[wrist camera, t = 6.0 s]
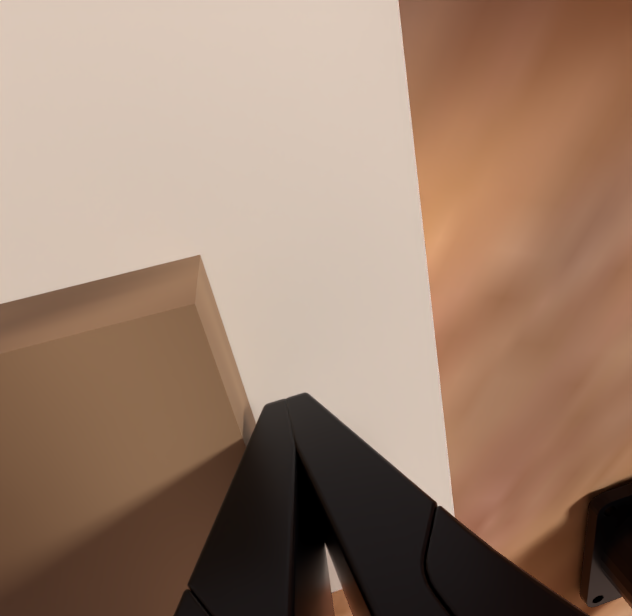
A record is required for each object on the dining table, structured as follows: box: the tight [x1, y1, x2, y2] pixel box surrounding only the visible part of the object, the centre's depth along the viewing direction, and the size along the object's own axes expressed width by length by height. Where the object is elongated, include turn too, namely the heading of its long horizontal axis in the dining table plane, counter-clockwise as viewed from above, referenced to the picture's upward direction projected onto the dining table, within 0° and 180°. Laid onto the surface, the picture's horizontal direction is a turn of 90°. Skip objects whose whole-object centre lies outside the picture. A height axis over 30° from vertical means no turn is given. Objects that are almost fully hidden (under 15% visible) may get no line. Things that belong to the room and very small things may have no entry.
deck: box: [0, 0, 455, 593], centre depth 9 cm, size 14×16×2 cm
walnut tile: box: [0, 255, 256, 616], centre depth 7 cm, size 8×6×2 cm
